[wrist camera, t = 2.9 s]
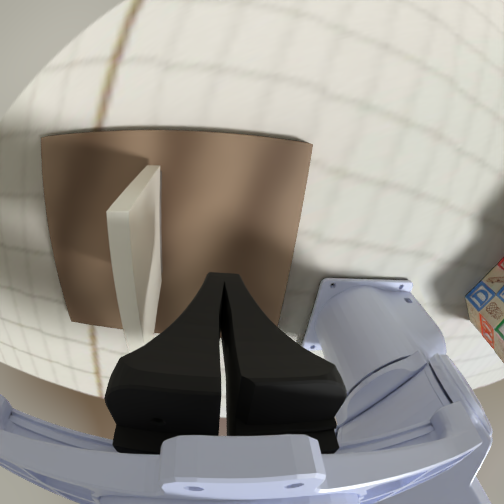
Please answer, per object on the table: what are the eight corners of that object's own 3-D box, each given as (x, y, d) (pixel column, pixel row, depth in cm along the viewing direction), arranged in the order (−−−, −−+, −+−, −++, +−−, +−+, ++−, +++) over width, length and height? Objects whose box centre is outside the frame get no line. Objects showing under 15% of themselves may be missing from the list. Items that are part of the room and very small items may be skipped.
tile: (128, 211, 9) (103, 211, 8) (149, 372, 12) (131, 371, 12) (160, 165, 16) (145, 165, 15) (161, 281, 19) (149, 281, 19)
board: (308, 142, 18) (317, 146, 16) (272, 331, 25) (276, 347, 23) (48, 136, 15) (33, 139, 13) (75, 314, 22) (67, 328, 21)
